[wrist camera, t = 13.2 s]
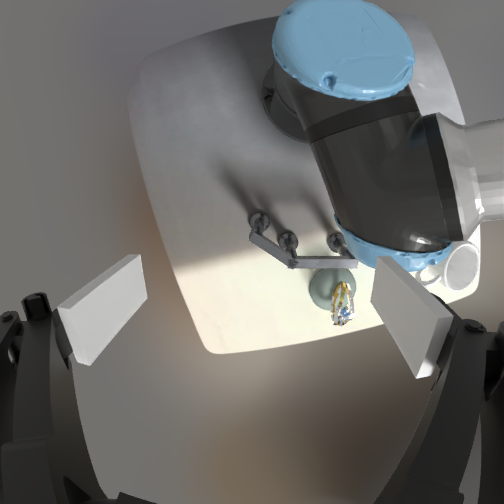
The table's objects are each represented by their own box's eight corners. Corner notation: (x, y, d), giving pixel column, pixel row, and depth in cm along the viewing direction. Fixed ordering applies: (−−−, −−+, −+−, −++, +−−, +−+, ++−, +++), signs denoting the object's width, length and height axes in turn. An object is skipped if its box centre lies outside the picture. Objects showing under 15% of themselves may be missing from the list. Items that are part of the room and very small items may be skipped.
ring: (335, 312, 46) (345, 338, 38) (319, 308, 46) (326, 334, 38) (350, 276, 43) (364, 298, 36) (333, 272, 43) (344, 293, 36)
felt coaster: (330, 257, 43) (330, 258, 43) (364, 282, 44) (365, 283, 44) (300, 293, 46) (300, 295, 45) (335, 316, 47) (335, 317, 46)
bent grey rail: (273, 184, 41) (273, 190, 31) (349, 240, 42) (369, 261, 33) (246, 224, 43) (238, 241, 33) (321, 276, 44) (332, 304, 35)
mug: (393, 250, 42) (418, 271, 33) (444, 219, 40) (476, 233, 30) (405, 287, 44) (429, 313, 35) (453, 257, 41) (482, 276, 32)
